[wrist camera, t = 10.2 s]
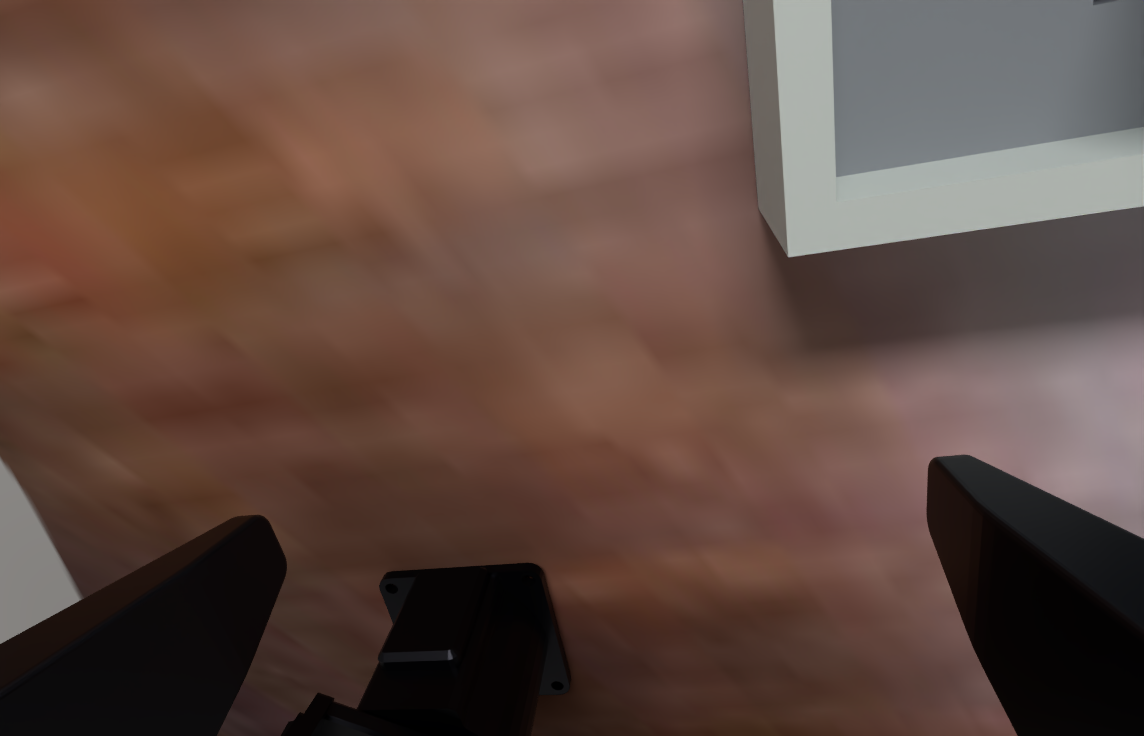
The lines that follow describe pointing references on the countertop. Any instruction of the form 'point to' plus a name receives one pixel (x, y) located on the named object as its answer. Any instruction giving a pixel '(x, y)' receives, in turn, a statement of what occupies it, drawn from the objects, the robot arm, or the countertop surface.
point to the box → (941, 115)
